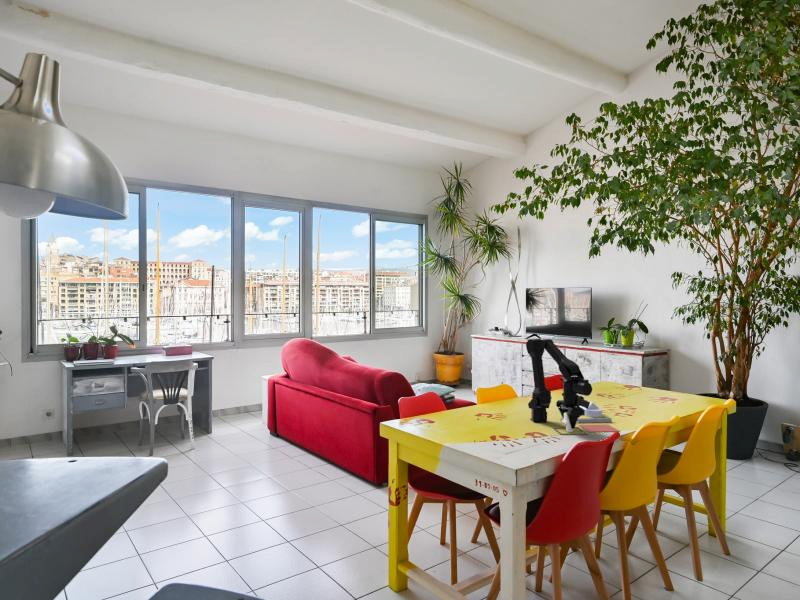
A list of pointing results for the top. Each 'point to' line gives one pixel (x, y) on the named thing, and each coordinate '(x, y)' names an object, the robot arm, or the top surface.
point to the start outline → (570, 433)
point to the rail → (593, 420)
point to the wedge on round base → (592, 411)
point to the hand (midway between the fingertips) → (569, 426)
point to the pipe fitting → (567, 423)
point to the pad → (599, 428)
